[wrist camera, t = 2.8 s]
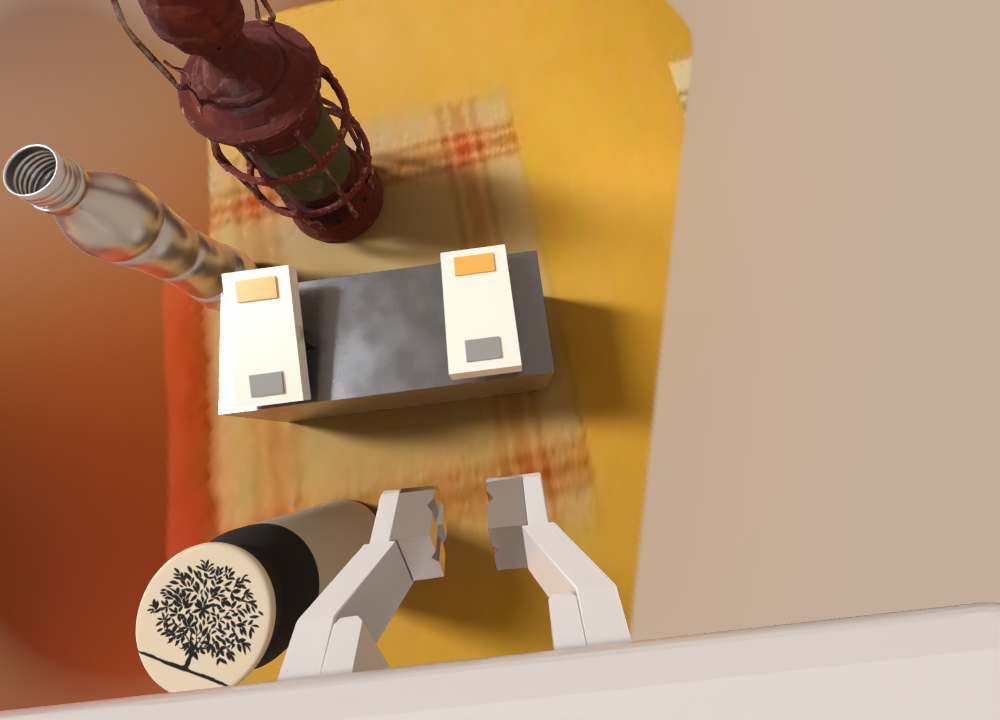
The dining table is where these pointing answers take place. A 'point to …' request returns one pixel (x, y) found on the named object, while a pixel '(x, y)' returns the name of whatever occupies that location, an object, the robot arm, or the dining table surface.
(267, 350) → the block
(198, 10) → the lantern
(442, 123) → the dining table surface
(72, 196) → the silver tall rounded piece
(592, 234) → the dining table surface
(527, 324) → the switch box
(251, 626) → the travel mug
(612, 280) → the dining table surface
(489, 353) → the rocker on
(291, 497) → the dining table surface
